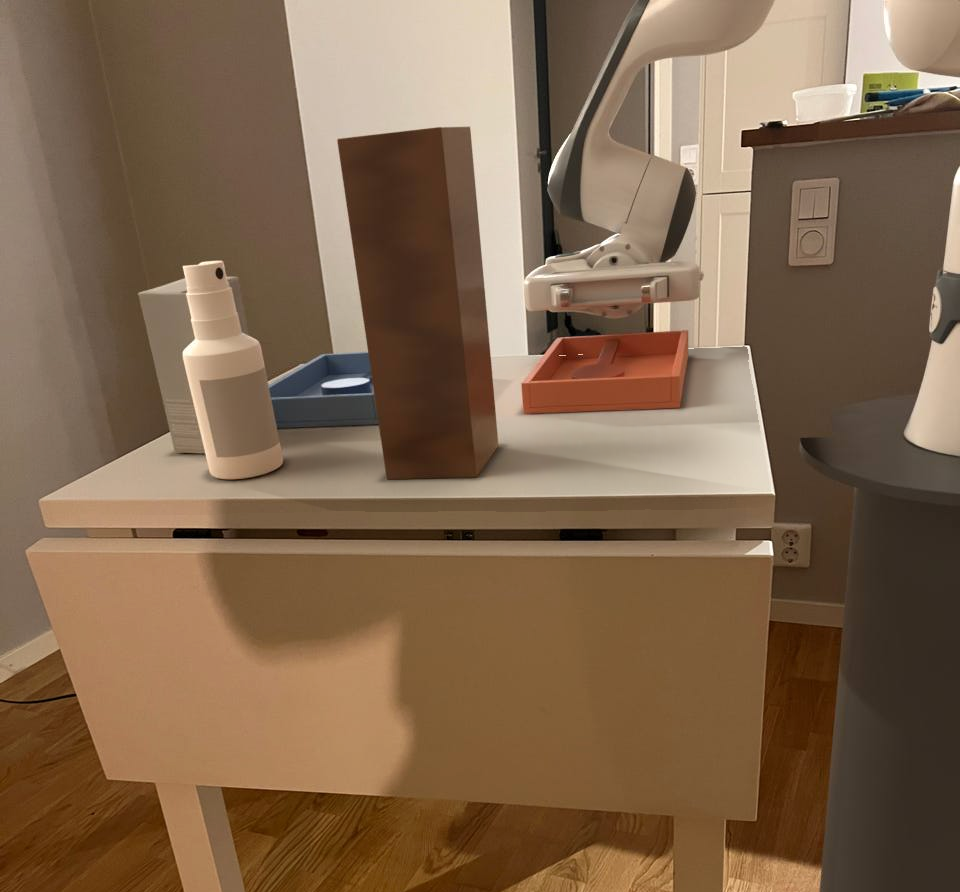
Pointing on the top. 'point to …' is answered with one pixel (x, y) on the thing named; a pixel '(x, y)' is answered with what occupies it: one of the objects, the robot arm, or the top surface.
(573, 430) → the top surface
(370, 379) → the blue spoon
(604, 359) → the terracotta spoon
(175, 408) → the cosmetic box
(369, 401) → the blue tray
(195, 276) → the spray bottle
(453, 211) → the tall brown block
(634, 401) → the terracotta tray
